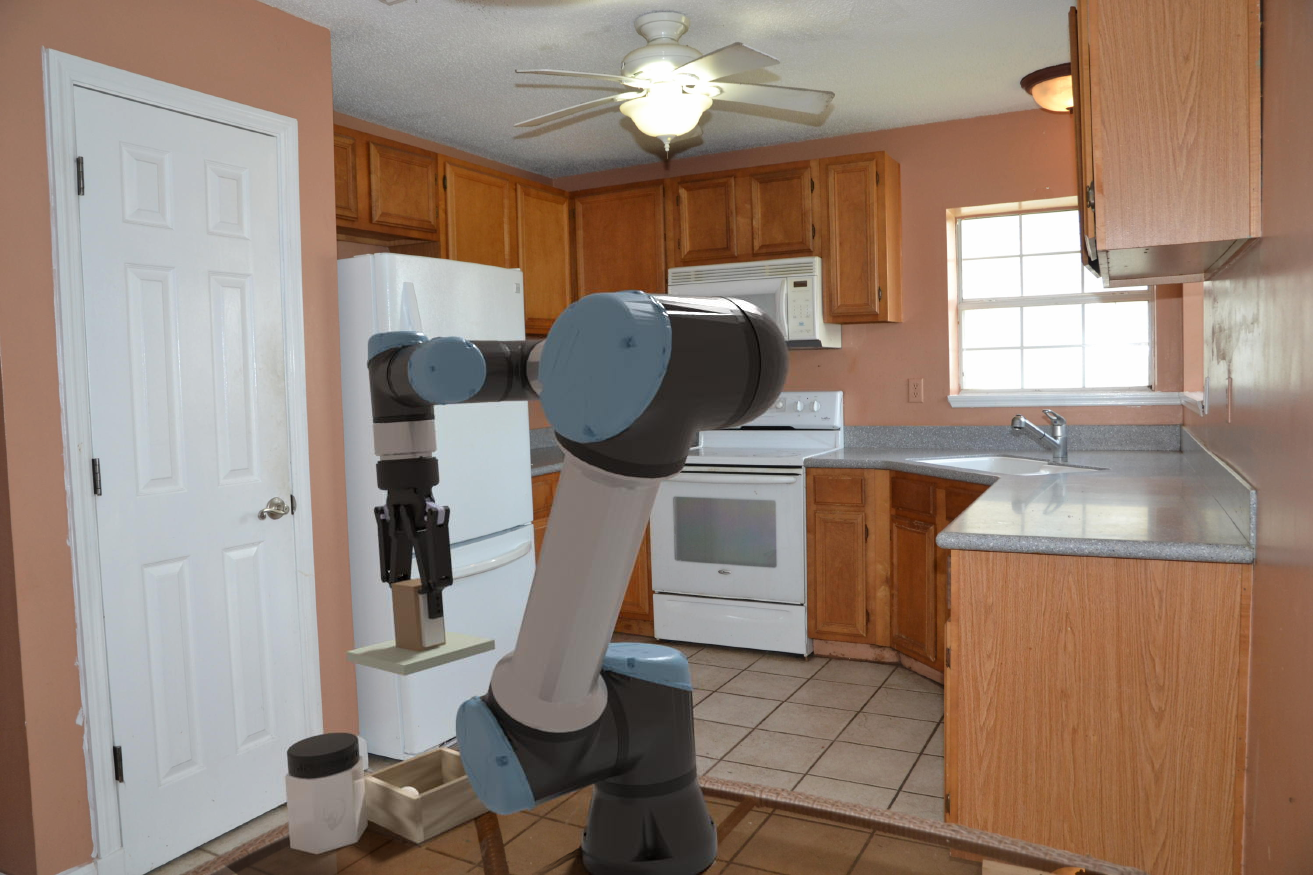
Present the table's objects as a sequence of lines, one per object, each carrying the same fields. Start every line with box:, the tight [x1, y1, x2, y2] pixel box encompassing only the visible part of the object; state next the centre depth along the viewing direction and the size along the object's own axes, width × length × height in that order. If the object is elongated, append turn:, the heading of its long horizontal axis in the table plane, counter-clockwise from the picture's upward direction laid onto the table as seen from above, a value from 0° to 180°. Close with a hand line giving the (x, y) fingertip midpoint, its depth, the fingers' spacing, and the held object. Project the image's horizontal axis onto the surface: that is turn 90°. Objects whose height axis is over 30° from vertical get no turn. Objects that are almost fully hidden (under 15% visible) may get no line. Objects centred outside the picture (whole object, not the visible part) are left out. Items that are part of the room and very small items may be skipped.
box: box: [364, 746, 492, 845], centre depth 112 cm, size 12×12×6 cm
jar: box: [284, 732, 369, 855], centre depth 107 cm, size 9×8×12 cm
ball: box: [401, 787, 419, 795], centre depth 113 cm, size 3×3×3 cm
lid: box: [346, 577, 496, 676], centre depth 112 cm, size 13×13×9 cm
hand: (420, 641), depth 112 cm, fingers closed on lid, 5 cm apart
